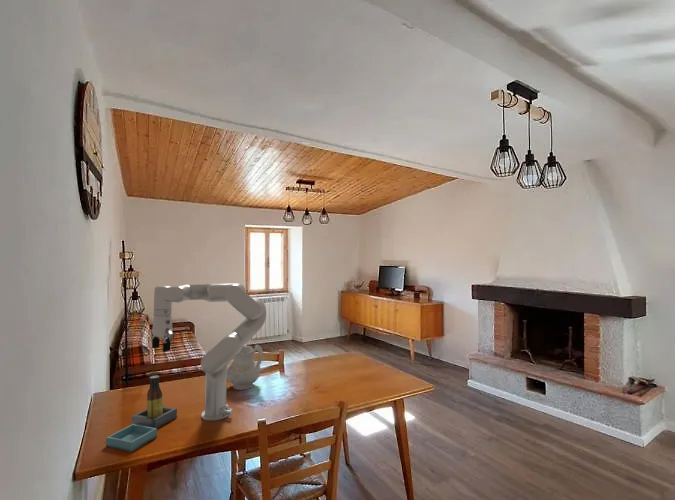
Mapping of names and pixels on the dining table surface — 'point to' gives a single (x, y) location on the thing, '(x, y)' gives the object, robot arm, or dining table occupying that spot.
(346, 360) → the dining table surface
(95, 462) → the dining table surface
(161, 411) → the sauce bottle
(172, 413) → the steel collar
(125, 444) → the teal tray
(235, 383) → the ceramic pitcher
